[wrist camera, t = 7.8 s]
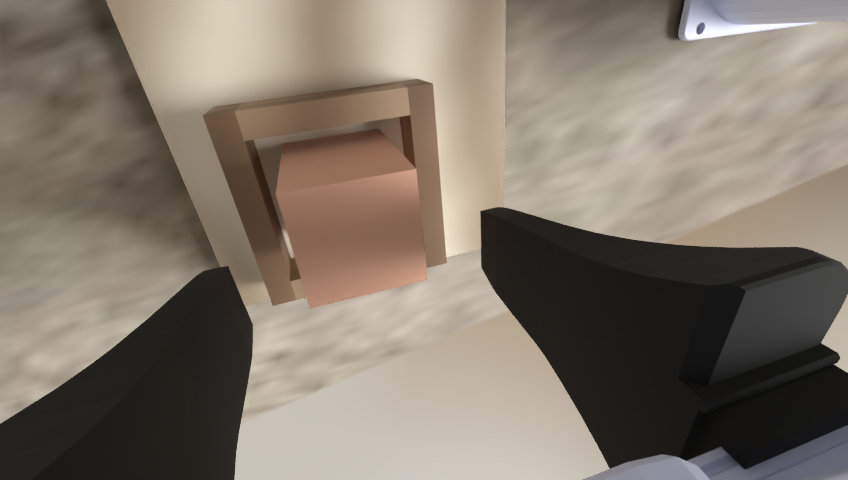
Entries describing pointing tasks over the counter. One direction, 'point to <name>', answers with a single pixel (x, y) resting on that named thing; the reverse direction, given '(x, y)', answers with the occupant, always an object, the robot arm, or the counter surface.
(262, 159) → the board
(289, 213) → the block
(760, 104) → the counter surface
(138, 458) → the robot arm
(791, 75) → the counter surface
